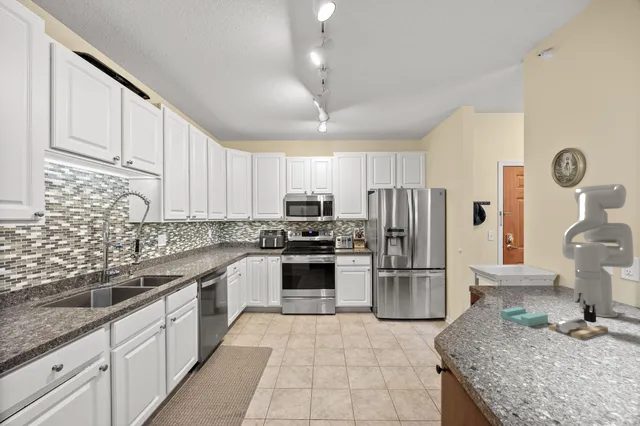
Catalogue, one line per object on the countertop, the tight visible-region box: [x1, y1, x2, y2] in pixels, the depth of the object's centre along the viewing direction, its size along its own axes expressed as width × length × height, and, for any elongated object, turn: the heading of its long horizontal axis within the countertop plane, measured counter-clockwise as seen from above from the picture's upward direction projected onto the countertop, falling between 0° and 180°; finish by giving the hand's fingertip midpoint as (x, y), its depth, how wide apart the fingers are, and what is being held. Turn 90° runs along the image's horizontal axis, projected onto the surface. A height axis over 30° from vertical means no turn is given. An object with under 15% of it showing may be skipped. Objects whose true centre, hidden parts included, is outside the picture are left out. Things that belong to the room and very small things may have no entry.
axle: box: [555, 317, 588, 335], centre depth 109 cm, size 12×4×4 cm, turn 110°
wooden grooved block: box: [548, 323, 609, 340], centre depth 110 cm, size 18×10×2 cm, turn 110°
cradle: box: [499, 306, 549, 328], centre depth 122 cm, size 12×12×4 cm
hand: (590, 321), depth 112 cm, fingers closed
